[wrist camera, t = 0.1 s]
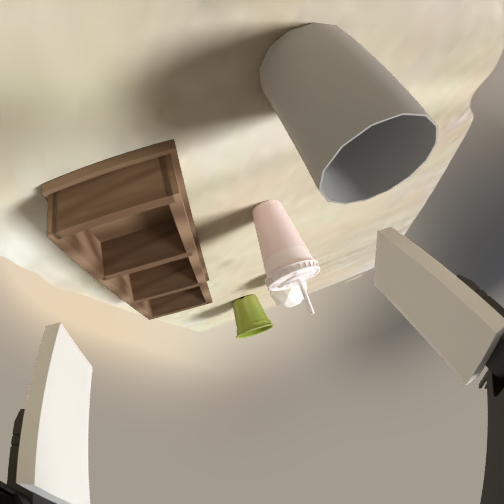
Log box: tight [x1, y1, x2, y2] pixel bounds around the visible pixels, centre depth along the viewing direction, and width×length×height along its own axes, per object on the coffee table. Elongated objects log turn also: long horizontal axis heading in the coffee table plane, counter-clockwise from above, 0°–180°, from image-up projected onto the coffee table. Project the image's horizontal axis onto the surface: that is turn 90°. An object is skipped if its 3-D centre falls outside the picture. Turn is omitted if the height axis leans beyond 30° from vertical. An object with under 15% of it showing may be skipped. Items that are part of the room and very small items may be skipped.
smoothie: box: [252, 200, 320, 315], centre depth 35 cm, size 6×6×14 cm
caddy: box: [41, 140, 212, 320], centre depth 35 cm, size 32×12×5 cm, turn 177°
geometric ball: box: [270, 282, 306, 307], centre depth 63 cm, size 8×8×8 cm
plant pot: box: [233, 295, 274, 338], centre depth 73 cm, size 9×9×9 cm
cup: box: [259, 23, 438, 204], centre depth 18 cm, size 8×8×10 cm
